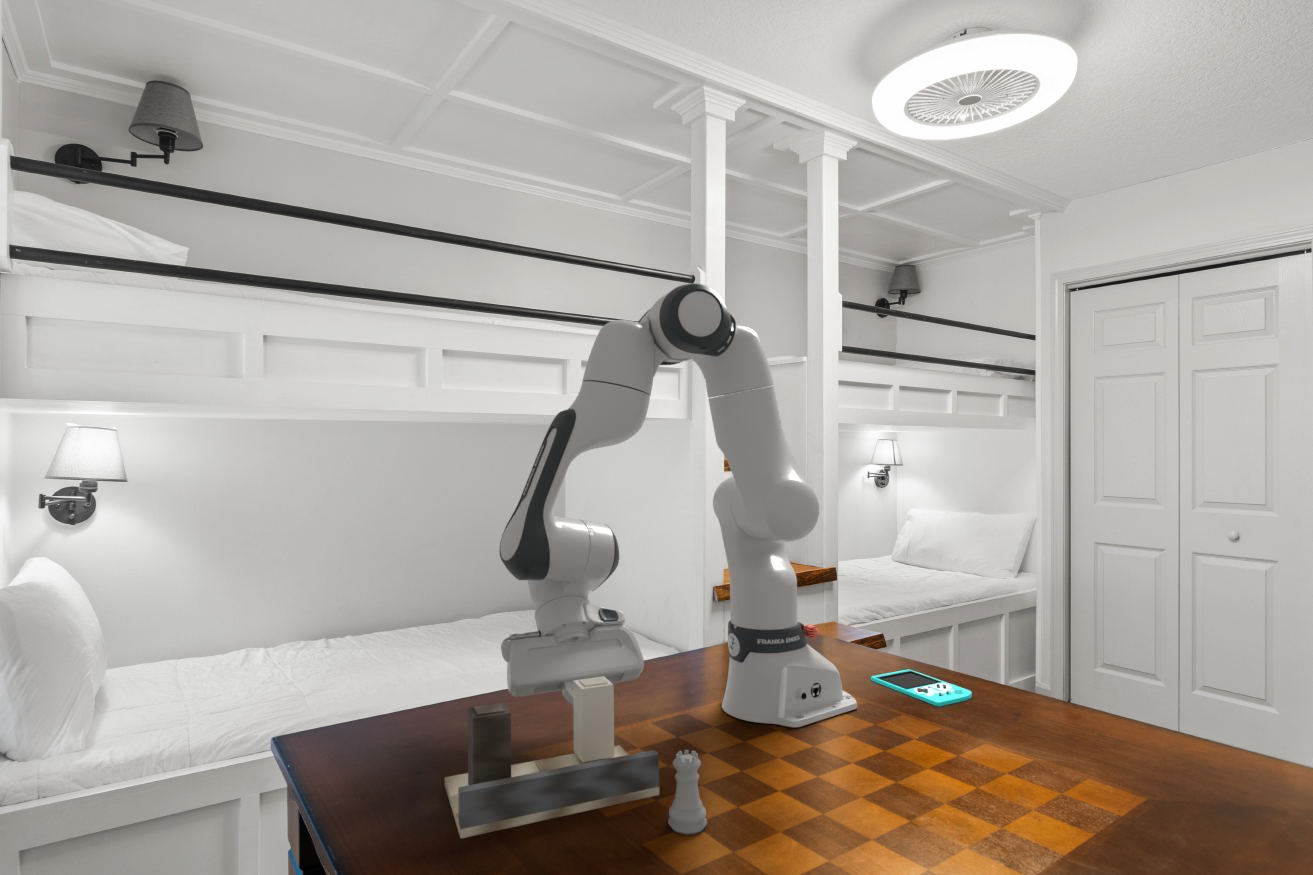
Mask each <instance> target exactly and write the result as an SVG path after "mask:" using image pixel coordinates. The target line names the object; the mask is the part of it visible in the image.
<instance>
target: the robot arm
mask: <svg viewBox="0 0 1313 875" xmlns="http://www.w3.org/2000/svg"><path fill="white" fill-rule="evenodd" d="M736 323H737V322H736V319H735V317H734V316H733V315H732V314H731V313H730V311H729V310H728V307H727V306H726V304H725V301H724V300H723V299H722V297H721V296H720V294H719V293H718V292H716V291H715V290H714V289H713V288H711V287H709V286H708V285H705V284H702V283H687V284H682V285H679V286H676V287H675V288H673V289H672V290H671V291H669V292H667V293H666V294H664V295H663V296H661V297H660V298H659V299H657V301H655V302H654V304H653V305H652V306H651V307H650V309H649V308H648V310H647V311H646V312H645V313H644V314H643V315H642V316H641V318H640V319H638V321H633V320H628V319H617V320H612V321H609V322H607V323H606V324H604V325H603V326H602V327H601V328H600V330H599V331H598V333H597V336H596V338H595V340H594V343H593V345H592V348H591V350H590V353H589V355H588V356H589V357H588V359H587V363H586V366H585V369H584V372H583V373H584V374H583V378H582V382H581V386H580V389H579V391H578V394H577V396H576V398H575V400H574V401H572V402H573V403H572V404H571V405H570V406H569V407H568V408H567V409H564V410H561V411H559V412H558V413H557V414H556V415H555V417H554V418H553V420H552V421H551V423H550V426H549V427H548V430H547V431H546V433H545V436H544V438H543V440H542V442H541V445H540V448H539V450H538V452H537V454H536V457H535V459H534V463H533V465H532V468H531V471H529V472H530V473H529V476H528V478H527V480H526V483H525V485H524V488H523V491H522V493H521V495H520V498H519V501H518V503H517V505H516V506H515V509H514V511H513V512H512V515H511V517H510V518H509V520H508V522H507V524H506V526H505V527H504V530H503V532H502V535H501V539H500V543H499V557H500V560H501V562H502V563H503V565H504V567H505V568H506V569H507V571H508V572H509V573H510V574H511V575H512V576H513V577H514V578H515V579H516V580H518V581H527V583H528V584H527V585H528V590H529V594H530V597H531V598H530V599H531V600H532V602H533V604H534V606H535V609H534V619H535V620H534V621H535V626H536V629H537V631H536V630H535V631H528V632H523V633H512V634H509V637H508V636H507V637H506V638H504V639H503V641H502V642H501V644H500V649H501V655H502V658H503V660H504V661H505V662H506V681H507V682H506V683H507V691H508V692H509V694H511V695H512V696H513V697H515V698H519V697H520V698H521V697H526V696H533V695H539V694H547V693H553V692H559V691H561V692H562V696H563V698H564V699H565V701H567V702H568V704H570V705H571V706H572V707H573V681H574V680H581V679H588V678H595V677H602V676H604V677H605V678H607V679H608V680H609V681H610V682H611V683H613V684H615V683H620V682H629V681H635V680H637V679H638V678H639V676H640V675H641V673H642V672H643V670H644V667H645V666H644V665H645V660H644V657H643V653H642V651H641V648H640V645H639V643H638V641H637V638H636V636H635V634H634V633H633V631H632V630H631V629H630V628H629V627H627V626H625V623H626V616H625V613H624V612H623V611H622V610H620V609H616V608H609V607H605V606H600V605H595V604H592V603H591V602H590V600H589V594H590V593H591V592H594V591H595V590H597V589H598V588H600V587H601V586H602V585H603V584H604V583H605V582H606V581H607V580H608V579H609V578H610V577H611V576H612V575H613V574H614V572H615V571H616V569H617V568H618V566H619V563H620V549H619V548H620V547H619V543H618V540H617V537H616V535H615V533H614V530H612V528H611V527H610V526H609V525H607V524H604V523H601V522H595V521H591V520H590V521H589V520H584V519H573V518H568V517H567V518H566V517H561V516H555V515H552V511H553V508H554V506H555V502H556V501H557V497H558V495H559V492H560V490H561V486H562V485H563V482H564V479H565V477H566V474H567V471H568V470H569V467H570V465H571V464H572V462H573V461H574V460H575V459H576V458H577V457H579V455H581V454H583V453H585V452H588V451H590V450H594V449H599V448H605V447H611V446H616V445H618V444H621V443H623V442H625V441H627V440H629V439H630V438H632V437H633V436H635V435H636V434H637V433H638V432H639V431H641V429H642V427H643V425H644V423H645V420H646V419H647V418H646V417H647V414H648V410H649V405H650V401H651V400H650V399H651V395H652V389H653V384H654V378H655V375H656V373H657V370H658V368H659V367H660V366H672V365H678V364H680V363H682V362H687V361H690V360H692V361H693V362H695V365H697V366H698V367H699V369H700V371H701V374H702V375H703V379H704V380H705V387H706V388H705V389H706V392H707V398H708V399H707V400H708V405H709V409H710V415H711V416H710V417H711V419H712V421H711V422H712V426H713V432H714V437H715V442H716V444H717V447H718V449H719V450H720V451H721V452H722V454H723V456H724V457H725V460H726V462H727V464H728V467H729V469H730V471H731V474H732V476H730V477H728V478H726V479H724V480H723V481H722V482H721V483H720V484H718V486H717V488H716V489H715V492H714V494H713V498H712V506H713V507H712V508H713V512H714V514H715V516H716V518H717V520H718V523H719V526H720V531H721V536H722V541H723V547H724V548H723V549H724V551H725V556H726V562H727V568H728V574H729V597H730V598H729V600H730V601H729V602H730V603H729V604H730V608H729V609H730V612H729V613H730V620H729V621H727V622H728V623H727V648H728V650H727V651H728V656H729V664H728V673H727V682H726V686H725V691H724V696H723V700H722V704H721V708H722V710H723V711H724V712H725V713H726V714H728V715H729V716H732V717H733V718H737V719H739V720H743V721H746V722H751V723H760V724H773V725H780V726H783V727H789V728H801V727H803V726H807V725H810V724H813V723H815V722H819V721H823V720H825V719H828V718H831V717H834V716H837V715H842V714H843V713H844V714H845V713H847V712H850V711H853V710H856V709H858V702H857V700H856V699H855V697H854V696H852V694H850V693H848V692H847V691H845V690H843V685H842V680H841V679H842V678H841V676H840V672H839V670H838V669H837V667H836V665H834V663H832V662H831V661H830V660H829V659H828V658H827V657H825V656H823V655H822V654H821V653H820V652H818V651H817V650H815V649H814V648H813V647H812V646H810V645H809V644H808V641H807V639H806V637H809V638H811V639H813V640H815V639H817V638H818V636H819V635H820V628H818V627H817V626H815V625H812V624H810V623H809V624H803V623H802V622H800V621H798V588H797V587H798V578H797V574H796V572H795V569H794V568H793V566H792V564H791V562H790V560H789V556H788V553H787V550H786V545H785V543H789V542H790V543H791V542H795V541H797V540H798V541H799V540H801V539H804V538H805V537H806V536H808V535H809V534H810V533H811V532H812V531H813V530H814V528H815V527H816V525H817V523H818V519H819V516H820V503H819V499H818V497H817V495H816V493H815V491H814V490H813V488H812V487H811V486H810V485H809V484H808V483H807V481H806V480H805V479H804V478H803V476H802V474H801V472H800V470H799V468H798V465H797V463H796V461H795V459H794V457H793V454H792V452H791V449H790V447H789V444H788V443H787V439H786V437H785V434H784V430H783V425H782V421H781V417H780V412H779V407H778V403H777V396H776V392H775V386H774V381H773V376H772V373H771V368H770V365H769V364H770V363H769V361H768V359H767V358H768V357H767V355H766V353H765V352H766V351H765V349H764V347H763V345H762V342H761V340H760V336H759V335H758V334H757V332H756V331H755V330H754V329H752V328H750V327H748V326H745V325H739V324H736Z"/></svg>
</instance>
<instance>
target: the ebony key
mask: <svg viewBox="0 0 1313 875" xmlns="http://www.w3.org/2000/svg"><path fill="white" fill-rule="evenodd" d="M511 714H512V712H511V711H510V709H509V707H508V706H507V704H506V702H499V703H491V704H484V705H479V706H478V705H477V706H472V707H467V773H468V785H474V784H479V783H484V782H489V781H495V780H500V779H505V778H510V777H511V765H512V715H511Z"/></svg>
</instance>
